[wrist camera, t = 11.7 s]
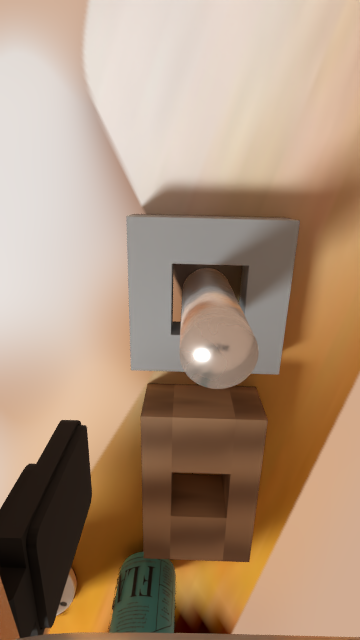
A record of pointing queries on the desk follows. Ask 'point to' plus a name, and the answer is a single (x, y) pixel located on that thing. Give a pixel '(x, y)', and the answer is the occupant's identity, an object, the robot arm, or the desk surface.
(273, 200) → the desk surface
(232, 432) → the brown wooden block
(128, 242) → the seat block
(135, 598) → the beverage bottle
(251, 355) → the axle peg
